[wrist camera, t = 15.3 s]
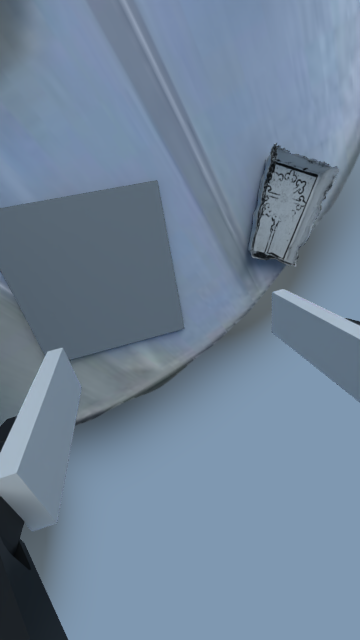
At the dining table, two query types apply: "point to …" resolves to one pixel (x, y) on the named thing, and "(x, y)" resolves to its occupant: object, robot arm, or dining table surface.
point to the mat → (92, 268)
